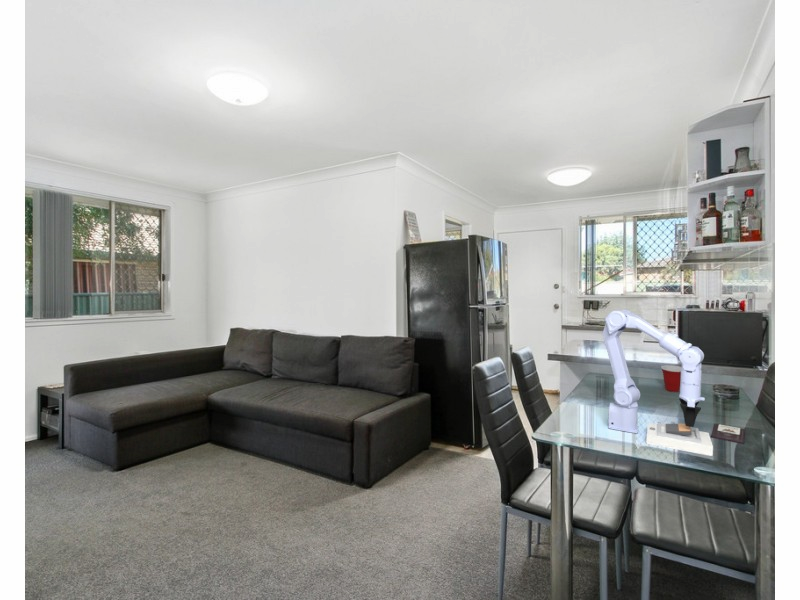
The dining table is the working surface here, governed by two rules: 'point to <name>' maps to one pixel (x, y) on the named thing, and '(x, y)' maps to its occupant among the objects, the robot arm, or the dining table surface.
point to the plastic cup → (672, 377)
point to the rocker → (678, 429)
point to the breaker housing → (679, 439)
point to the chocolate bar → (728, 433)
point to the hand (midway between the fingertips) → (688, 423)
